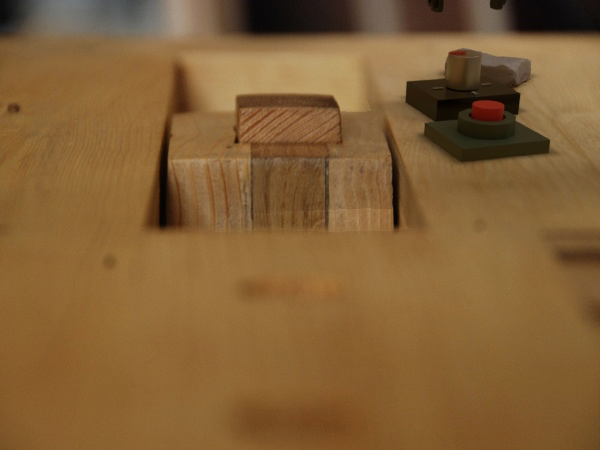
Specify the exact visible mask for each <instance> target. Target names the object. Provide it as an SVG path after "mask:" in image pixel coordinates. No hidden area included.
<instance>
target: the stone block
mask: <svg viewBox="0 0 600 450" xmlns="http://www.w3.org/2000/svg"><path fill="white" fill-rule="evenodd" d="M456 50H471V51H477V52H480V53H481V54H482V59H481V70H480V76H483V75H484V76H486V77H488V78H491V79H493V80H495V81H497V82H499V83H501V84H503V85H505V86H507V87H509V88H511V89H515V87H519V86H520V84H522V83H524V82H526V81H527V80H528V79H530V77H531V73H532V60H530V59H528V58H525V57H515V56H504V55H501V56H499V55H493V54H491V53H487V52H482V51H480V50H476V49H471V48H464V47H461V48H457V49H456ZM447 63H448V55H447V57H446V59H445V62H444V76H445V77H444V78H446V76H447Z"/></svg>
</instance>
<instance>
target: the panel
mask: <svg viewBox="0 0 600 450" xmlns="http://www.w3.org/2000/svg"><path fill="white" fill-rule="evenodd" d="M481 100H489V101H496V102H500V103H502V104H504V111H507V112H509V113H511V114H513V115H515V116H518V115H519V113H520V112H519V111H520V102H521V92H519V91H518V90H516V89H514V88H509V87H507V86H505V85H503V84H501V83H499V82H497V81H495V80H493V79H491V78H488V77H486V76H484V75H483V76H480V80H479V88H478V89H476V90H470V91H460V90H453V89H450V88H447V87H446V77H444V78H431V79H419V80H406V83H405V103H406V104H407V105H409V106H411V107H412V108H414V109H416V111H418V112H420V113H421V114H423V115H424V116H426V117H427V118H429V119H430V120H432V122H438V121H449V120H458V115H459V112H461V111H464V110H467V109H472V104H473V102H476V101H481Z"/></svg>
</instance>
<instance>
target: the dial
mask: <svg viewBox="0 0 600 450" xmlns="http://www.w3.org/2000/svg"><path fill="white" fill-rule="evenodd" d="M471 50H472V49H471ZM471 50H457V49H454V50H450V51H448V53H447V56H448V63H447V76H446V77H445V78H446V87H447V88H450V89H453V90H460V91H470V90H476V89H478V88H479V80H480V70H481V59H482V54H481V53H480V52H477V51H478V50H475V51H471Z"/></svg>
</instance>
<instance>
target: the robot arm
mask: <svg viewBox="0 0 600 450" xmlns="http://www.w3.org/2000/svg"><path fill="white" fill-rule="evenodd" d="M444 2H445V0H427V7H430V10H431V11H432V12H434V13H435V14H437V13H443V11H444ZM506 3H507V0H489V8H490V9H492V10H495V11H502V10H503V7H504V6H505V5H506Z"/></svg>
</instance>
